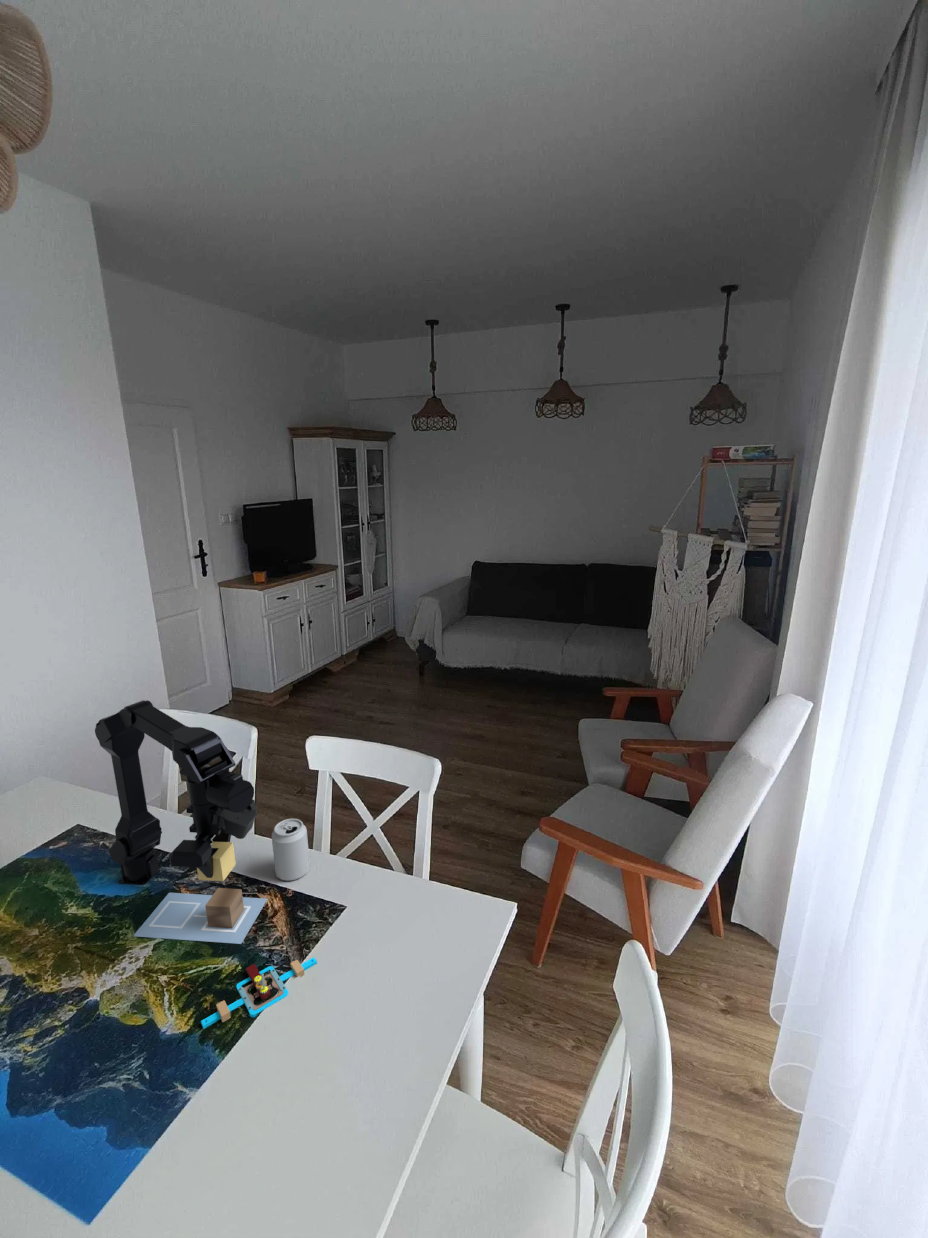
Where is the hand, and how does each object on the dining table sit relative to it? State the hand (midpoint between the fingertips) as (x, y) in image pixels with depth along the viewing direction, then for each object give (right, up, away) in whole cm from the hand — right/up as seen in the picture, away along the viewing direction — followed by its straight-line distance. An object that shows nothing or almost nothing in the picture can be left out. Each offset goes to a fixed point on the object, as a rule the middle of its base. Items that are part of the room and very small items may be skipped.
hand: (217, 868), depth 114 cm
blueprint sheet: (-4, -12, +4) cm, 13 cm away
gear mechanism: (+13, -17, -12) cm, 24 cm away
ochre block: (0, -1, 0) cm, 1 cm away
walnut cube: (+1, -12, +3) cm, 12 cm away
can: (+10, -8, +17) cm, 21 cm away
